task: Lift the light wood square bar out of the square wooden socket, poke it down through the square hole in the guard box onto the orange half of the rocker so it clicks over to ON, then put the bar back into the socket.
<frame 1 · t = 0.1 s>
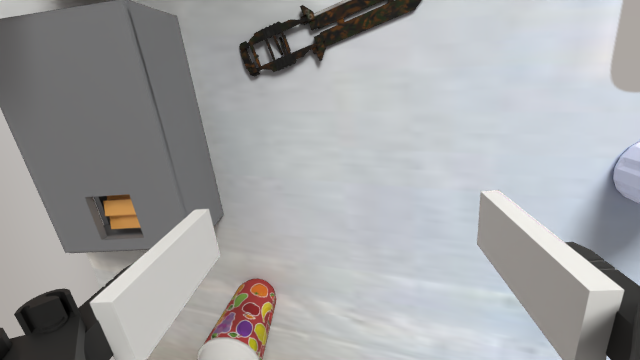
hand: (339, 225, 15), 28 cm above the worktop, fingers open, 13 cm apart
knife: (335, 21, 37), on the worktop
guard box: (144, 131, 44), on the worktop
smoothie: (259, 291, 52), on the worktop
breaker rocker: (120, 137, 39), point 5 cm above the worktop, hinge at -15.0°
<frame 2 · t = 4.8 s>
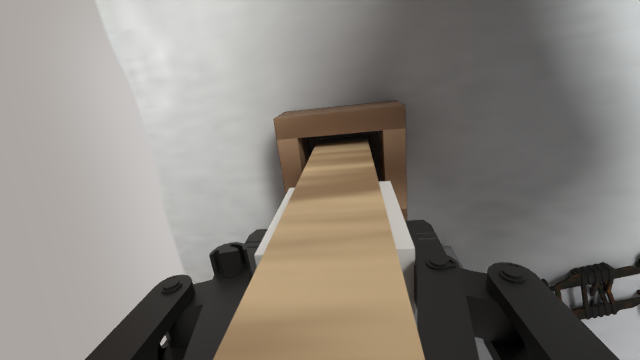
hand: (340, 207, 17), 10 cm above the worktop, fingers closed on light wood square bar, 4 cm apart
light wood square bar: (344, 159, 26), resting in square wooden socket, touching gripper
square wooden socket: (344, 159, 26), on the worktop
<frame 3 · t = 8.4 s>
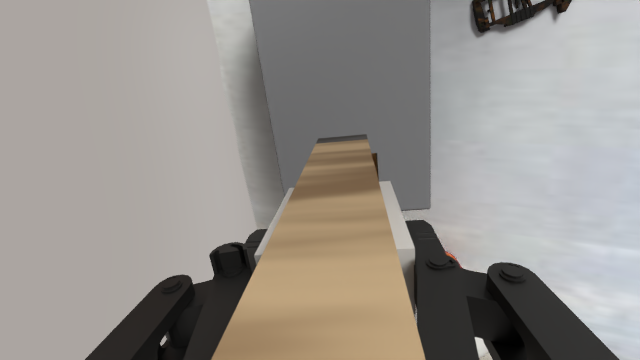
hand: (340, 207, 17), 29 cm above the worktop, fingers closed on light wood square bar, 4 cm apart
guard box: (348, 95, 43), on the worktop
light wood square bar: (344, 159, 26), point 20 cm above the worktop, touching gripper
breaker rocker: (347, 98, 38), point 5 cm above the worktop, hinge at -15.0°
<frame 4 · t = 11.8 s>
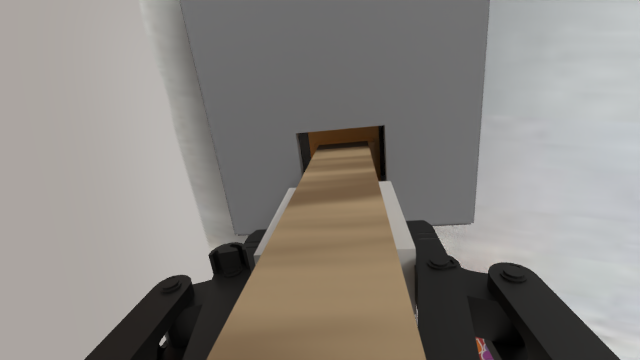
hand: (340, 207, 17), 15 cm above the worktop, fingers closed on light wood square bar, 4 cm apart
guard box: (337, 43, 27), on the worktop
light wood square bar: (344, 166, 25), point 6 cm above the worktop, touching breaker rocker, gripper
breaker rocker: (334, 38, 23), point 5 cm above the worktop, hinge at 2.6°, touching light wood square bar
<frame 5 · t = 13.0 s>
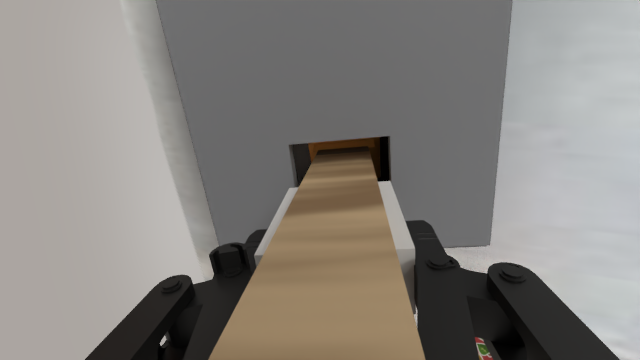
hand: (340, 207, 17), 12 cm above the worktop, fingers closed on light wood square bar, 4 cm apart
guard box: (336, 43, 25), on the worktop
light wood square bar: (344, 171, 25), point 4 cm above the worktop, touching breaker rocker, gripper
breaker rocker: (333, 39, 20), point 5 cm above the worktop, hinge at 16.6°, touching light wood square bar
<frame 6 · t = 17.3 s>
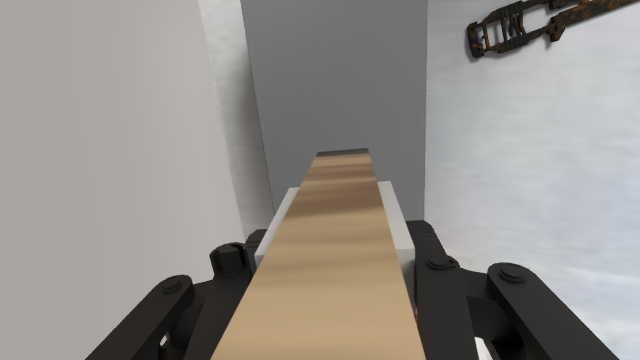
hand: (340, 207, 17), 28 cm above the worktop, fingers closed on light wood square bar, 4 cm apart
knife: (574, 1, 36), on the worktop
guard box: (342, 115, 42), on the worktop
light wood square bar: (344, 173, 25), point 19 cm above the worktop, touching gripper
when the fingers open (11 cm above the worktop, at t = 21.4 s): light wood square bar drops 2 cm, resting in square wooden socket.
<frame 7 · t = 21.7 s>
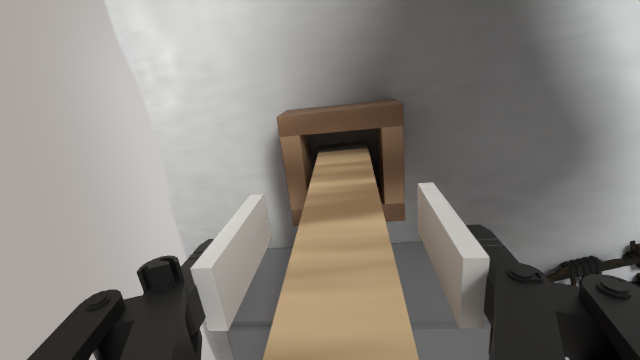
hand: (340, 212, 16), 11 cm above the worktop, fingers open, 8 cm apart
guard box: (361, 352, 34), on the worktop
light wood square bar: (345, 165, 27), resting in square wooden socket
square wooden socket: (344, 156, 27), on the worktop
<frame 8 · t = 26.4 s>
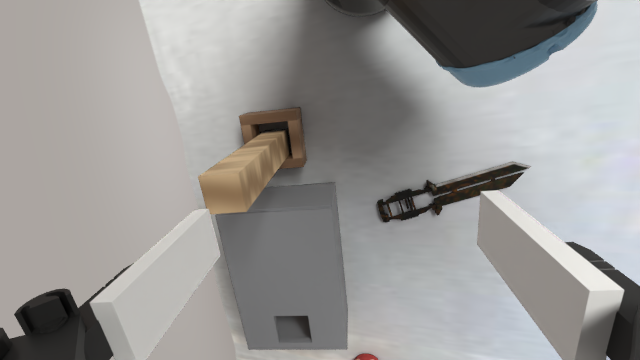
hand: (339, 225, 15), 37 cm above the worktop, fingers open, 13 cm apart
knife: (449, 187, 52), on the worktop
guard box: (295, 252, 59), on the worktop
light wood square bar: (278, 141, 51), resting in square wooden socket
square wooden socket: (277, 136, 51), on the worktop
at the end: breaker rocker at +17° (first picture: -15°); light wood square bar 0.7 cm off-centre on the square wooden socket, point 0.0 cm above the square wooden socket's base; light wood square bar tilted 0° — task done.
